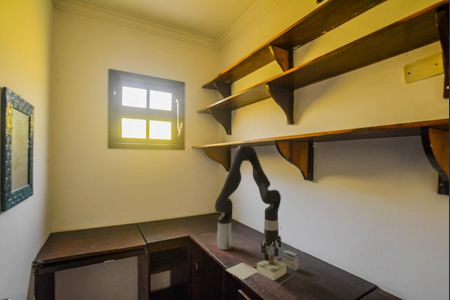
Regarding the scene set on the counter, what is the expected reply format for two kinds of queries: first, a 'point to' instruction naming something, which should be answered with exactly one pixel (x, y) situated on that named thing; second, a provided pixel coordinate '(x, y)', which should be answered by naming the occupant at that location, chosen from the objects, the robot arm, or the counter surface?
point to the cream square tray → (270, 274)
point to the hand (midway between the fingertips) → (271, 258)
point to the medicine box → (290, 260)
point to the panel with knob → (242, 270)
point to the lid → (271, 264)
